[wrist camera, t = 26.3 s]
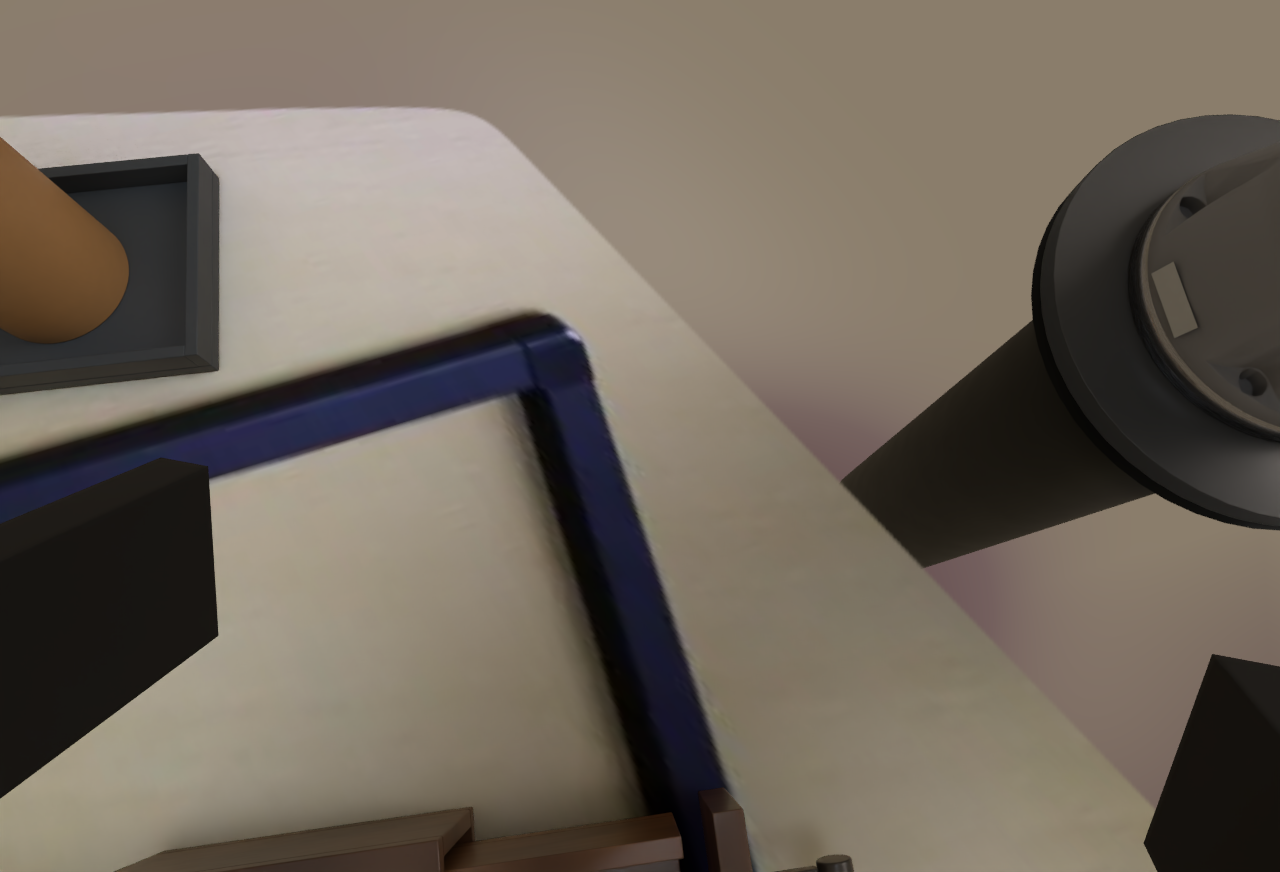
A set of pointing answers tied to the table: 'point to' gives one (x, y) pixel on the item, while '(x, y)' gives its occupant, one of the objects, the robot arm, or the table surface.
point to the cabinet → (330, 848)
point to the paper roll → (52, 258)
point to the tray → (138, 278)
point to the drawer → (625, 846)
